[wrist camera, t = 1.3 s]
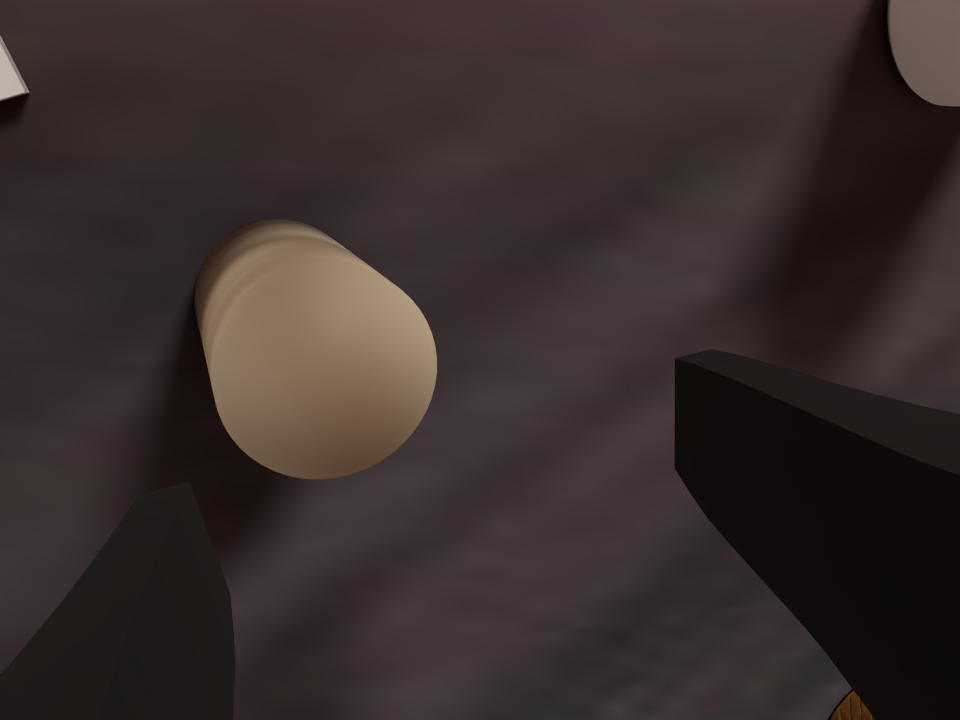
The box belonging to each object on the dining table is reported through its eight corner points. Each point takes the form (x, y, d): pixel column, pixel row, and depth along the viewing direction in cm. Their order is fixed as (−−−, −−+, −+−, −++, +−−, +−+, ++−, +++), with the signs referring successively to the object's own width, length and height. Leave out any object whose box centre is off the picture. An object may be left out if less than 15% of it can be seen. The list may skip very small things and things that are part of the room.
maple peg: (235, 402, 19) (267, 514, 14) (164, 255, 17) (171, 320, 12) (380, 339, 20) (462, 423, 15) (326, 195, 18) (397, 232, 13)
